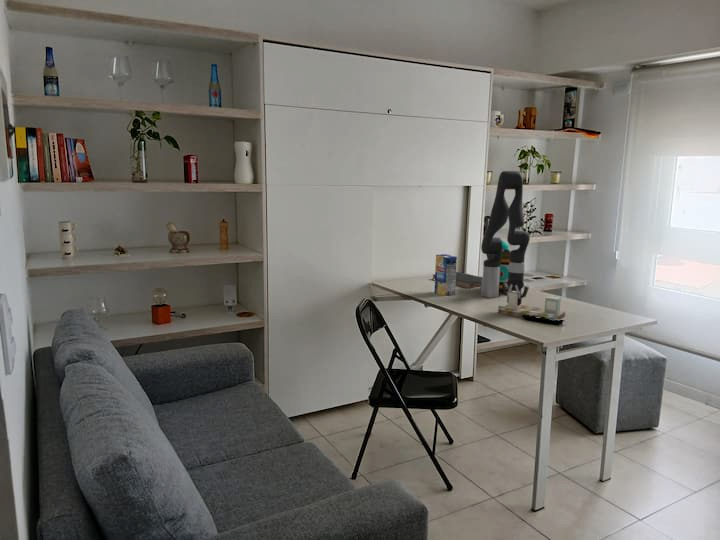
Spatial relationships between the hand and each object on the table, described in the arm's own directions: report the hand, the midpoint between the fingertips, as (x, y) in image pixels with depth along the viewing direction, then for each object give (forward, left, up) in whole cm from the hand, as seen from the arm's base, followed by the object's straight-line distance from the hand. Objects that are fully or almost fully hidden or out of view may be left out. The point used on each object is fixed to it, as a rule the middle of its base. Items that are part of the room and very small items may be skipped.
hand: (514, 304), depth 280 cm
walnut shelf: (+9, 0, -4) cm, 10 cm away
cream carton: (0, 0, -2) cm, 2 cm away
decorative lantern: (-25, +42, -4) cm, 49 cm away
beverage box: (-47, +15, -4) cm, 49 cm away
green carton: (+19, 0, -2) cm, 19 cm away
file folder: (-54, +54, -5) cm, 76 cm away
